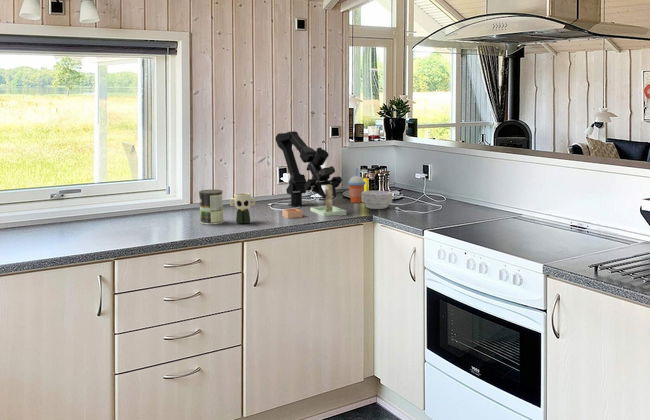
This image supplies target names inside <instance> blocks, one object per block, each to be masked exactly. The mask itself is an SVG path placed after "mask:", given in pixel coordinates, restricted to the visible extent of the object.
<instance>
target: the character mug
mask: <svg viewBox="0 0 650 420" xmlns="http://www.w3.org/2000/svg"><path fill="white" fill-rule="evenodd" d="M233 196H234V197H231V198H229V205H230V207H231V206H232V207H233V206H234V208H235V210H236V209H237V211H236V218H235V219H236V220H235V221H236V223H237V224H243V223H244V224H248V223H250V222H251V215H250V210H249V209H251V206H255V205H256V198H255V197H251V193H248V192H238V193H234V194H233ZM233 201H234V202H233ZM251 201H252V202H251Z"/></svg>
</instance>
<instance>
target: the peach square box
mask: <svg viewBox="0 0 650 420" xmlns="http://www.w3.org/2000/svg"><path fill="white" fill-rule="evenodd" d="M281 211H282V214H281V215H282V217H284V218H286V219H296V218H303V210H302V209H299V208H296V207H295V208H285V209H282V210H281Z"/></svg>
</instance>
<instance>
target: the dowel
mask: <svg viewBox="0 0 650 420" xmlns="http://www.w3.org/2000/svg"><path fill="white" fill-rule="evenodd" d="M325 195H326V198H325V206H326V212H332V206H333V195H332V185H325Z"/></svg>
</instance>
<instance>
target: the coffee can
mask: <svg viewBox="0 0 650 420" xmlns="http://www.w3.org/2000/svg"><path fill="white" fill-rule="evenodd" d="M223 192H224V191H223V190H222V189H203V190H199V191H198V195H199V196H198V197H199V217H200V224H201V225H205V226H206V225H207V226H209V225H210V226H214V225H220V224H223V223H224V222H225V221H224V205H223V204H224V203H223V201H224V200H223V194H224V193H223Z"/></svg>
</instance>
